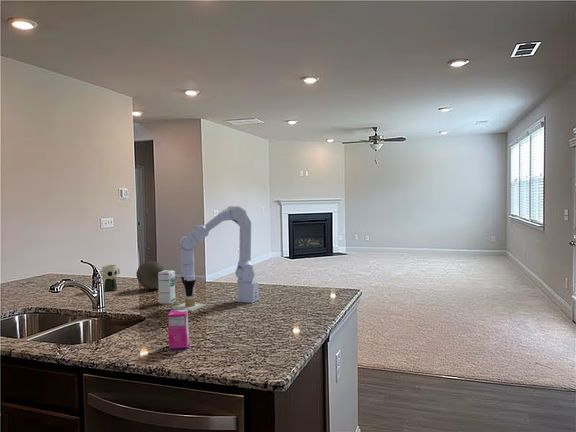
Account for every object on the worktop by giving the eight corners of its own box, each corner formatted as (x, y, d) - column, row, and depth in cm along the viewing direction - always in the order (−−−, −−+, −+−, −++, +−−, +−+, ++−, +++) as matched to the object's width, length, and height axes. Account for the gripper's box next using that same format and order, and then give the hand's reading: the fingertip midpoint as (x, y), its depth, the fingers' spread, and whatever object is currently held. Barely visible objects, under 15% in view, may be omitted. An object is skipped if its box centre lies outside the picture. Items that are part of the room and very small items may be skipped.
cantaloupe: (144, 286, 244) (144, 259, 243) (169, 287, 242) (168, 259, 241) (132, 292, 230) (131, 263, 229) (158, 292, 228) (157, 263, 227)
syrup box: (170, 303, 203) (169, 272, 203) (158, 303, 205) (157, 271, 204) (176, 301, 209) (175, 270, 208) (164, 300, 210) (163, 269, 209)
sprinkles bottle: (191, 303, 200) (191, 273, 199) (197, 305, 197) (196, 275, 196) (182, 305, 197) (181, 275, 196) (188, 307, 194) (187, 276, 193)
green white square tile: (206, 305, 200) (206, 303, 200) (192, 311, 189) (192, 309, 189) (185, 303, 204) (185, 302, 204) (170, 309, 193) (170, 307, 193)
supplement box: (171, 344, 147) (170, 309, 147) (189, 343, 148) (188, 309, 147) (168, 350, 142) (167, 314, 141) (187, 349, 142) (186, 313, 142)
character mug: (104, 293, 229) (103, 267, 229) (97, 291, 234) (96, 266, 234) (123, 289, 238) (123, 265, 237) (116, 287, 242) (116, 263, 242)
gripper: (177, 261, 201) (178, 291, 202) (179, 266, 188) (180, 298, 188) (193, 260, 203) (194, 290, 204) (196, 265, 190) (197, 297, 190)
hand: (188, 294), depth 196 cm, fingers open, 7 cm apart
